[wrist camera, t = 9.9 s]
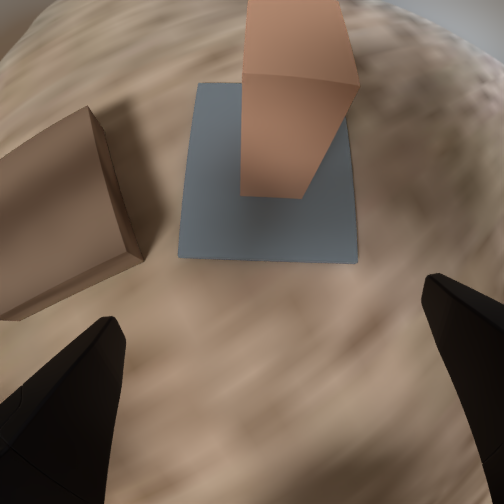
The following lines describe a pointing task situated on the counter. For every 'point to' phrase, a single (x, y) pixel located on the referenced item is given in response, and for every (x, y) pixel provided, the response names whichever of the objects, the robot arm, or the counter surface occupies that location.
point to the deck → (60, 217)
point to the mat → (260, 208)
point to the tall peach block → (292, 93)
